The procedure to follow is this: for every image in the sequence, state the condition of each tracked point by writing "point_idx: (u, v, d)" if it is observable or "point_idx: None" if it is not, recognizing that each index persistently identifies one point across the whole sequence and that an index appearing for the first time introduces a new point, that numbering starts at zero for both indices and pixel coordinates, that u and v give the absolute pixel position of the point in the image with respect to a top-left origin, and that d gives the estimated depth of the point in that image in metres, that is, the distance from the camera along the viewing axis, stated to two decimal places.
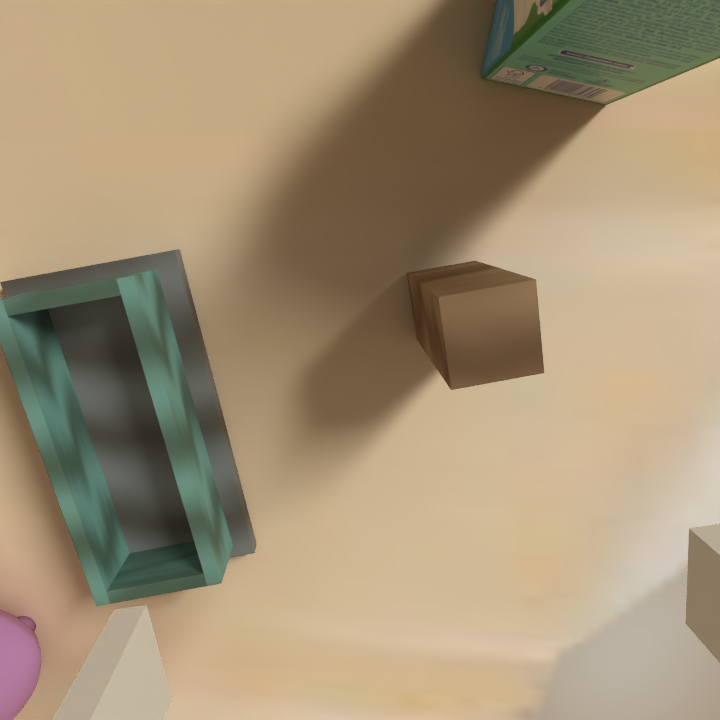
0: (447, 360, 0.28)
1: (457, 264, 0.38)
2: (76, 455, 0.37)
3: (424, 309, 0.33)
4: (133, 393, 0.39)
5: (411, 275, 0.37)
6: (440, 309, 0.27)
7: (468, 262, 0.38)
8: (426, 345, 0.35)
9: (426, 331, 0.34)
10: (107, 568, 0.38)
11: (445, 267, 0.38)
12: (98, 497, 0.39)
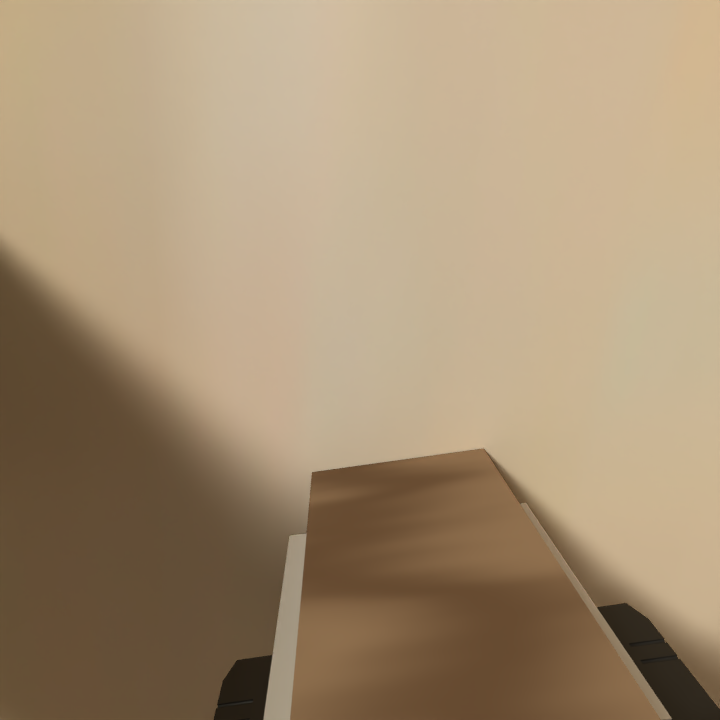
0: None
1: None
2: None
3: None
4: None
5: None
6: None
7: None
8: None
9: None
10: None
11: None
12: None
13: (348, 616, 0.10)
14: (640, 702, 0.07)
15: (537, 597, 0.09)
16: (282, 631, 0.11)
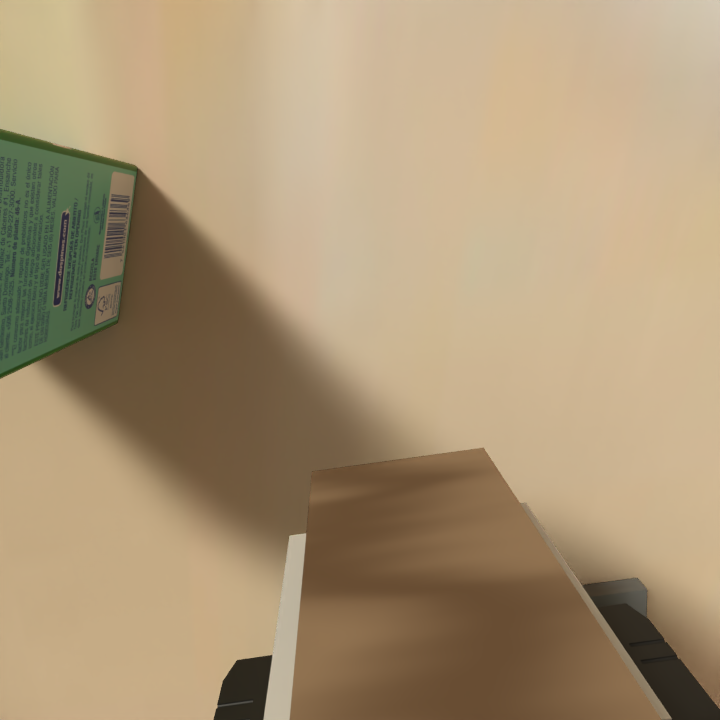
0: None
1: None
2: None
3: None
4: None
5: None
6: None
7: None
8: None
9: None
10: None
11: None
12: None
13: (348, 615, 0.10)
14: (640, 700, 0.07)
15: (537, 597, 0.09)
16: (282, 631, 0.11)
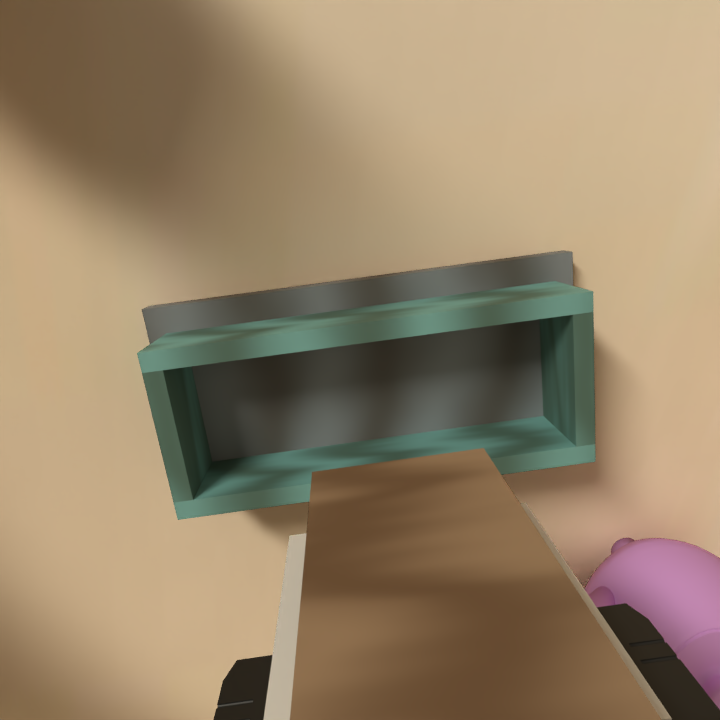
0: None
1: None
2: (387, 455, 0.29)
3: None
4: (324, 382, 0.31)
5: None
6: None
7: None
8: None
9: None
10: (546, 441, 0.29)
11: None
12: (452, 439, 0.30)
13: (348, 616, 0.10)
14: (640, 701, 0.07)
15: (537, 597, 0.09)
16: (282, 631, 0.11)
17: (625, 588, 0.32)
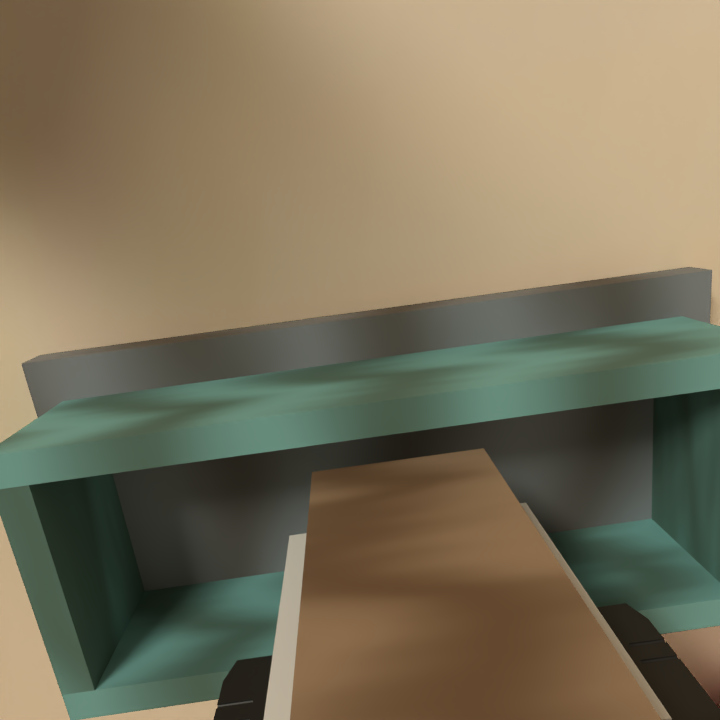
0: None
1: None
2: None
3: None
4: None
5: None
6: None
7: None
8: None
9: None
10: (677, 579, 0.18)
11: None
12: None
13: (348, 616, 0.10)
14: (640, 701, 0.07)
15: (537, 597, 0.09)
16: (282, 631, 0.11)
17: None
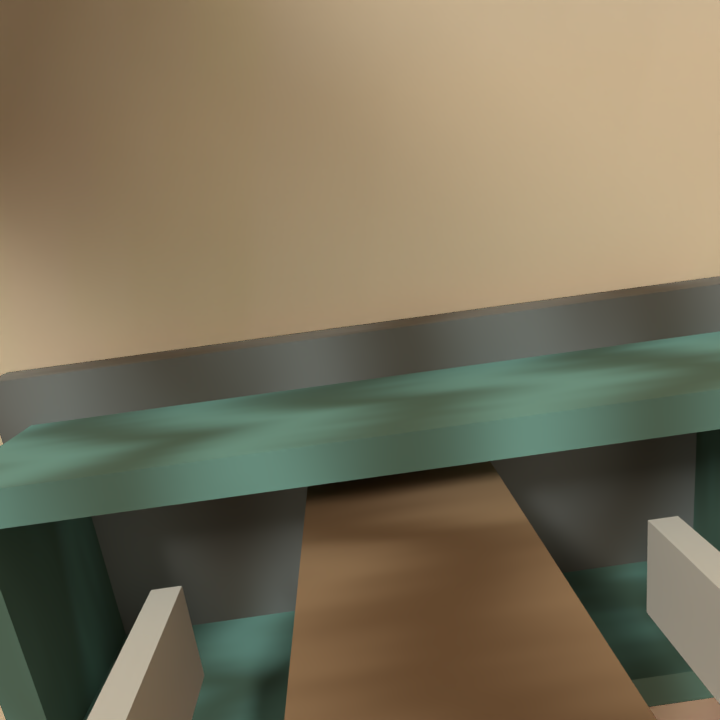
0: None
1: None
2: None
3: None
4: None
5: None
6: None
7: None
8: None
9: None
10: None
11: None
12: None
13: (342, 555, 0.11)
14: (577, 609, 0.09)
15: (502, 538, 0.11)
16: None
17: None
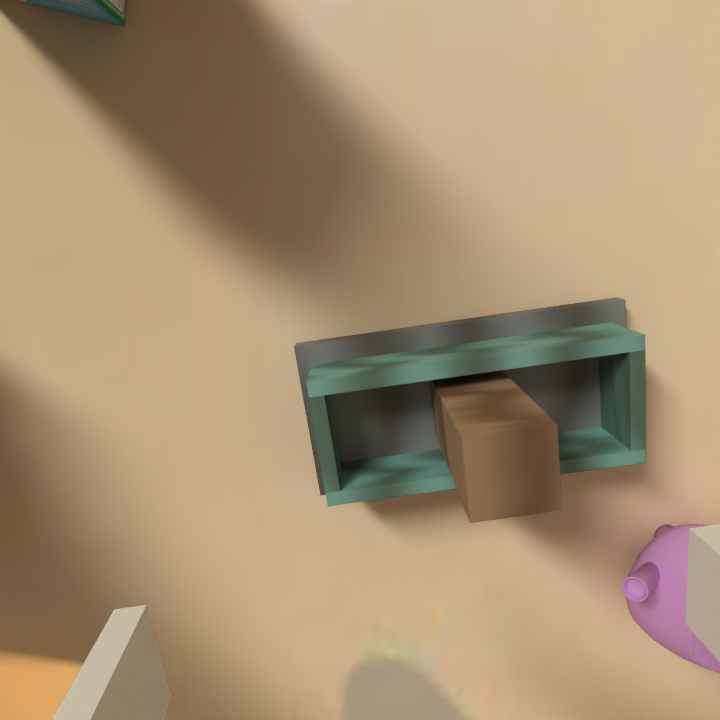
0: (531, 512, 0.29)
1: (431, 392, 0.39)
2: None
3: None
4: (430, 400, 0.40)
5: (439, 444, 0.39)
6: (481, 519, 0.29)
7: None
8: None
9: None
10: (607, 447, 0.37)
11: (433, 406, 0.39)
12: None
13: (456, 398, 0.34)
14: (531, 401, 0.31)
15: (510, 391, 0.33)
16: None
17: (668, 563, 0.40)
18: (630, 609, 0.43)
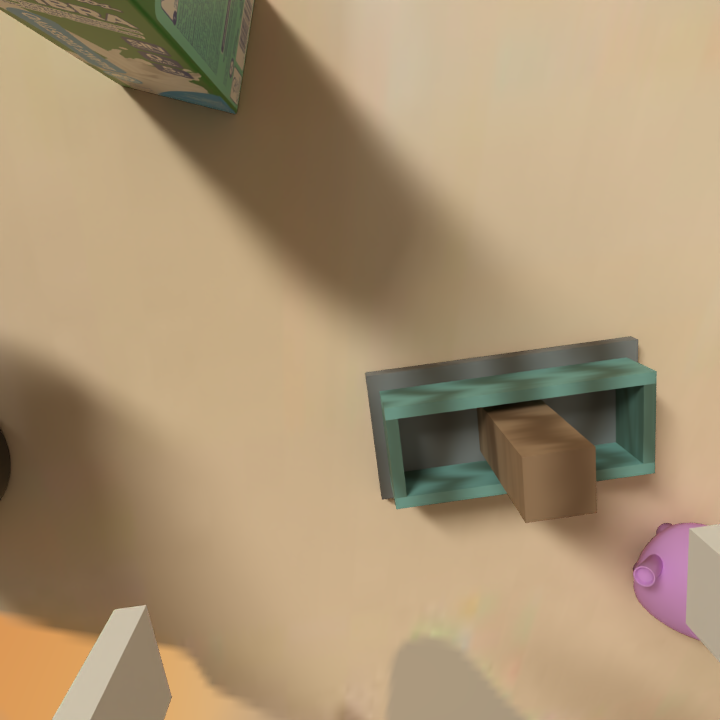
0: (573, 515, 0.37)
1: (477, 414, 0.47)
2: None
3: None
4: (476, 421, 0.48)
5: (485, 457, 0.47)
6: (534, 520, 0.37)
7: None
8: None
9: None
10: (623, 460, 0.46)
11: (480, 426, 0.47)
12: None
13: (507, 422, 0.42)
14: (570, 426, 0.39)
15: (550, 417, 0.41)
16: None
17: (670, 554, 0.49)
18: (637, 593, 0.51)
